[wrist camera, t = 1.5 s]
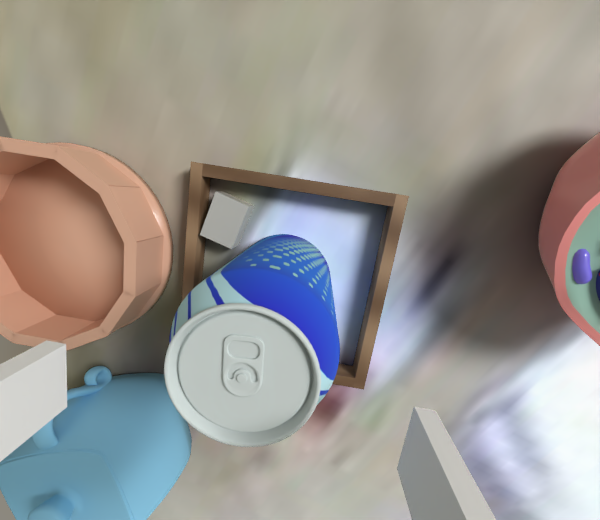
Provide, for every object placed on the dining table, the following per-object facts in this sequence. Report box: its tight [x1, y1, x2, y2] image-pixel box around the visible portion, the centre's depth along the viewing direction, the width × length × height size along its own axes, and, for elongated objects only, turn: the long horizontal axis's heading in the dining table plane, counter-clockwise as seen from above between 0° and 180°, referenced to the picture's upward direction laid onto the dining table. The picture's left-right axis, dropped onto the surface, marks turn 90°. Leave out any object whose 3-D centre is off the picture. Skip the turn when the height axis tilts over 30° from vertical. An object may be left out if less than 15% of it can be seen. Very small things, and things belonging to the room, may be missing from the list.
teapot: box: [0, 366, 192, 520], centre depth 27 cm, size 12×18×12 cm
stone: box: [200, 191, 255, 249], centre depth 26 cm, size 4×3×2 cm
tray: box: [181, 162, 409, 389], centre depth 26 cm, size 18×18×2 cm
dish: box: [0, 137, 173, 351], centre depth 26 cm, size 18×18×5 cm
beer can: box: [164, 234, 340, 447], centre depth 20 cm, size 8×8×16 cm
